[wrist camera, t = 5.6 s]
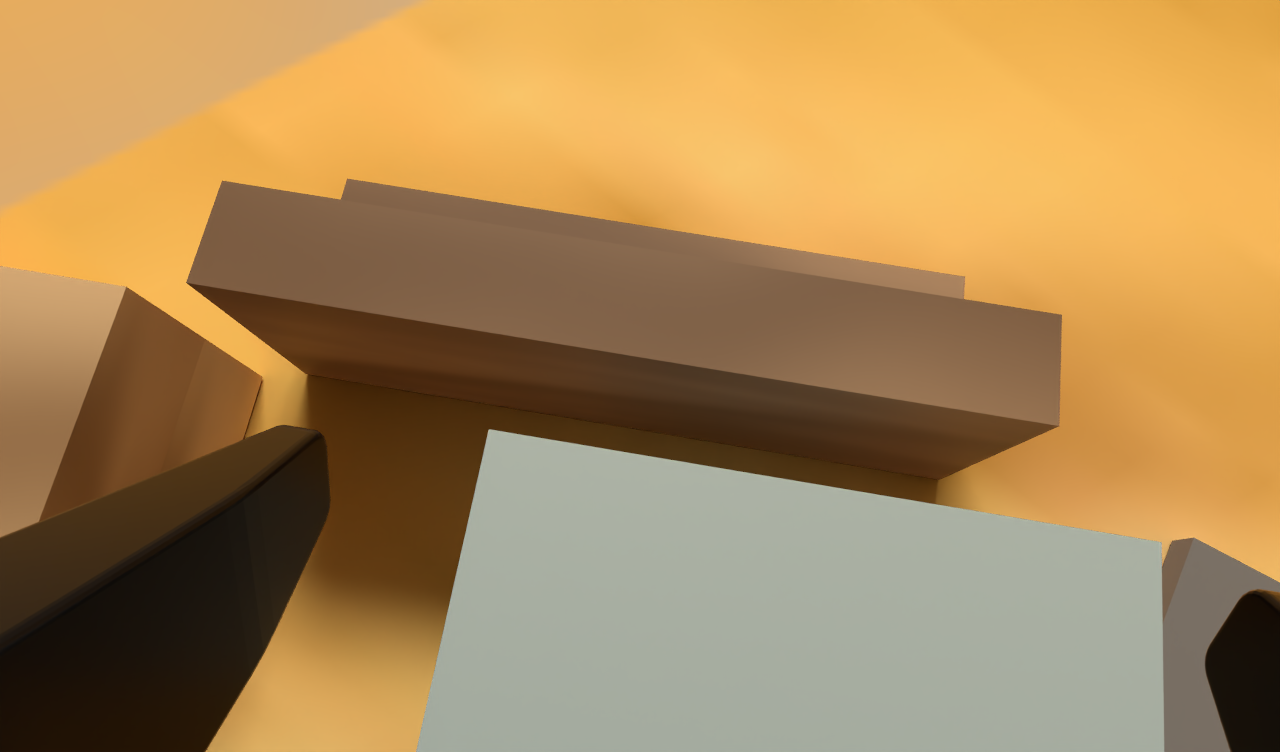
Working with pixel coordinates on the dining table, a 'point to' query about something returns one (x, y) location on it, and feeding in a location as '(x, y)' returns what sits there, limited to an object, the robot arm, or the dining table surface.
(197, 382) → the offcut stack
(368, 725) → the dining table surface
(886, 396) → the brown wooden block
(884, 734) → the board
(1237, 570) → the felt pad
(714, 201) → the dining table surface
